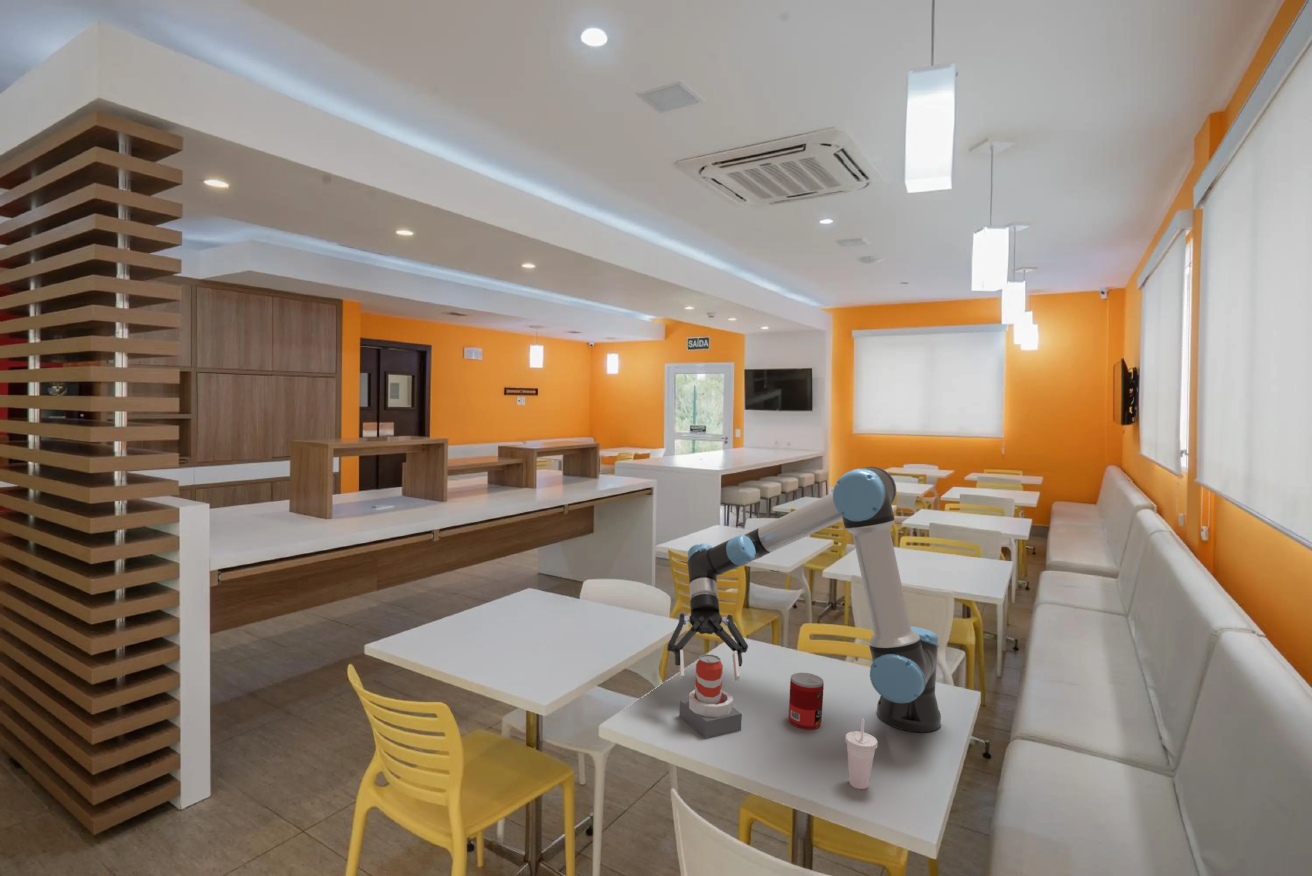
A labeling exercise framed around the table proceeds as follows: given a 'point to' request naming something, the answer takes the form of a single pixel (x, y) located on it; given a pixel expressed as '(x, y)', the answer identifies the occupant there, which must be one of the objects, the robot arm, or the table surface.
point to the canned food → (806, 700)
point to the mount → (711, 715)
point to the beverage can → (708, 679)
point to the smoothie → (860, 756)
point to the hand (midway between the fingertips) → (709, 678)
